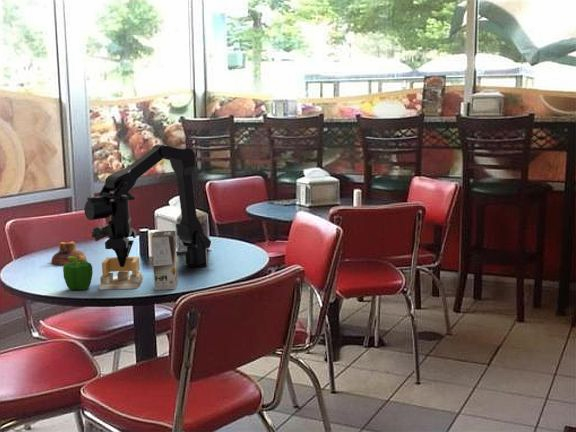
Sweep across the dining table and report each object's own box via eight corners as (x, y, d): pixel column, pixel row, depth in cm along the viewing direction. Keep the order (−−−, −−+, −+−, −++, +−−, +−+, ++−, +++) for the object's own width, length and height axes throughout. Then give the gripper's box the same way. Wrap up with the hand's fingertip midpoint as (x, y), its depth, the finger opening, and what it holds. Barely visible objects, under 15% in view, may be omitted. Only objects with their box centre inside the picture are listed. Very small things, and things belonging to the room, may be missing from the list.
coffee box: (176, 289, 209) (173, 236, 206) (154, 290, 208) (151, 236, 205) (178, 281, 218) (175, 230, 215) (157, 282, 217) (154, 231, 214)
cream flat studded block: (144, 278, 223) (143, 268, 222) (137, 288, 211) (137, 278, 210) (107, 279, 222) (107, 269, 222) (99, 289, 210) (98, 279, 210)
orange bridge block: (139, 269, 220) (138, 256, 219) (136, 275, 213) (135, 262, 212) (107, 270, 219) (106, 257, 218) (102, 276, 213) (101, 263, 212)
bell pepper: (96, 284, 216) (94, 252, 215) (89, 291, 208) (87, 258, 206) (69, 285, 216) (66, 253, 214) (61, 292, 208) (58, 259, 206)
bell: (44, 265, 244) (42, 244, 242) (63, 257, 255) (61, 237, 254) (75, 266, 241) (73, 245, 240) (92, 258, 252) (91, 238, 251)
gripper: (99, 211, 224) (103, 259, 227) (85, 222, 206) (89, 274, 209) (135, 210, 225) (138, 258, 227) (124, 220, 206) (127, 273, 209)
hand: (122, 265), depth 218 cm, fingers closed
